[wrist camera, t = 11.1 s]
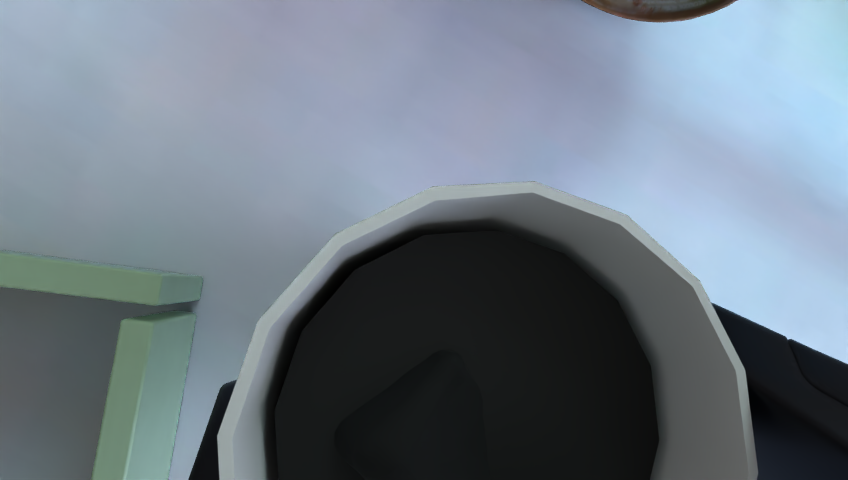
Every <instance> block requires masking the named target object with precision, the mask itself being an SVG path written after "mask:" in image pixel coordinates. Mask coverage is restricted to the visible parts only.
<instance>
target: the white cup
mask: <svg viewBox="0 0 848 480" xmlns="http://www.w3.org/2000/svg"><path fill="white" fill-rule="evenodd" d="M217 441H218V460H219V479H220V480H757V476H758V467H757V459H756V451H755V443H754V435H753V427H752V420H751V412H750V404H749V396H748V388H747V380H746V372H745V369H744V367H743V365H742V363H741V361H740V359H739V357H738V355H737V353H736V351H735V349H734V347H733V345H732V343H731V341H730V339H729V337H728V335H727V333H726V331H725V329H724V327H723V325H722V323H721V322H720V320H719V318H718V316H717V314H716V312H715V310H714V308H713V306H712V304H711V302H710V300H709V298H708V296H707V294H706V292H705V290H704V288H703V286H702V284H701V282H700V281H699V280H698V279H697V278H696V277H695V276H694V275H693V274H692V273H691V272H690V271H688V270H687V269H686V268H685V267H684V266H683V265H682V264H681V263H680V262H678V261H677V260H676V259H675V258H674V257H673V256H672V255H671V254H670V253H669V252H667V251H666V250H665V249H664V248H663V247H662V246H661V245H660V244H659V243H657V242H656V241H655V240H654V239H653V238H652V237H651V236H650V235H649V234H648V233H646V232H645V231H644V230H643V229H642V228H641V227H640V226H639V225H638V224H636V223H635V222H634V221H633V220H632V219H631V218H630V217H629V216H628V215H626V214H623V213H620V212H618V211H615V210H612V209H609V208H607V207H604V206H601V205H598V204H596V203H593V202H590V201H587V200H585V199H582V198H579V197H576V196H574V195H571V194H568V193H565V192H563V191H560V190H557V189H554V188H552V187H549V186H546V185H543V184H541V183H538V182H535V181H529V182H510V183H491V184H471V185H452V186H433V187H431V188H428V189H426V190H424V191H422V192H420V193H418V194H416V195H414V196H412V197H410V198H408V199H406V200H404V201H402V202H400V203H398V204H396V205H394V206H391V207H389V208H387V209H385V210H383V211H381V212H379V213H377V214H375V215H373V216H371V217H369V218H367V219H365V220H363V221H361V222H359V223H356V224H354V225H352V226H350V227H348V228H346V229H344V230H342V231H340V232H338V233H336V234H335V235H334V236H333V237H332V238H331V239H330V240H329V241H328V242H327V244H326V245H325V246H324V247H323V248H322V249H321V250H320V251H319V253H318V254H317V255H316V256H315V257H314V258H313V259H312V260H311V262H310V263H309V264H308V265H307V266H306V267H305V268H304V269H303V271H302V272H301V273H300V274H299V275H298V276H297V277H296V278H295V280H294V281H293V282H292V283H291V284H290V285H289V286H288V287H287V289H286V290H285V291H284V292H283V293H282V294H281V295H280V296H279V298H278V299H277V300H276V301H275V302H274V303H273V304H272V305H271V307H270V308H269V309H268V310H267V311H266V312H265V313H264V314H263V316H262V317H261V318H260V319H259V320H258V322H257V325H256V328H255V330H254V333H253V336H252V339H251V342H250V345H249V347H248V350H247V353H246V356H245V359H244V362H243V364H242V367H241V370H240V373H239V376H238V379H237V381H236V384H235V387H234V390H233V393H232V396H231V398H230V401H229V404H228V407H227V410H226V412H225V415H224V418H223V421H222V424H221V427H220V429H219V432H218V435H217Z"/></svg>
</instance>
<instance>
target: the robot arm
mask: <svg viewBox="0 0 848 480" xmlns="http://www.w3.org/2000/svg"><path fill="white" fill-rule="evenodd" d="M711 304H712V306H713V308H714V310H715V312H716V314H717V316H718V318H719V320H720V322H721V323H722V325H723V327H724V329H725V331H726V333H727V335H728V337H729V339H730V341H731V343H732V345H733V347H734V349H735V351H736V353H737V355H738V357H739V359H740V361H741V363H742V365H743V367H744V369H745V372H746V380H747V388H748V396H749V404H750V412H751V420H752V427H753V435H754V443H755V451H756V459H757V467H758V476H757V480H848V364H846V363H844V362H841V361H839V360H837V359H835V358H832V357H830V356H828V355H825V354H823V353H821V352H819V351H816V350H814V349H812V348H810V347H807V346H805V345H803V344H801V343H799V342H797V341H794V340H792V339H789V340H787V338H786V337H785V336H783V335H781V334H779V333H777V332H774V331H772V330H770V329H768V328H766V327H764V326H761V325H759V324H757V323H755V322H753V321H751V320H748V319H746V318H744V317H742V316H740V315H737V314H735V313H733V312H731V311H729V310H727V309H724V308H722V307H720V306H718V305H716V304H714V303H711ZM236 381H237V380H234V381H231V382H228V383H226V384H224V385H223V386H222V387H221V388H220V390H219V393H218V396H217V399H216V402H215V405H214V408H213V410H212V413H211V416H210V419H209V422H208V425H207V428H206V431H205V433H204V436H203V439H202V442H201V445H200V448H199V451H198V454H197V457H196V459H195V462H194V465H193V468H192V471H191V474H190V477H189V480H220V479H219V460H218V441H217V435H218V432H219V429H220V427H221V424H222V421H223V418H224V415H225V412H226V410H227V407H228V404H229V401H230V398H231V396H232V393H233V390H234V387H235V384H236Z"/></svg>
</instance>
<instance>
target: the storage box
mask: <svg viewBox="0 0 848 480" xmlns="http://www.w3.org/2000/svg"><path fill="white" fill-rule="evenodd" d="M202 284H203V277H202V276H196V275H188V274H181V273H173V272H165V271H158V270H150V269H143V268H135V267H128V266H120V265H113V264H105V263H98V262H90V261H83V260H75V259H68V258H60V257H53V256H45V255H37V254H30V253H22V252H15V251H7V250H0V287H6V288H14V289H22V290H30V291H38V292H47V293H55V294H63V295H71V296H79V297H87V298H95V299H103V300H112V301H120V302H128V303H136V304H144V305H152V306H158V305H166V304H174V303H182V302H190V301H198V300H199V299H200V295H201V289H202ZM196 317H197V315H196V314H195V313H192V312H184V311H175V310H174V311H168V312H162V313H156V314H150V315H145V316H139V317H133V318H127V319H123V320H122V321H121V323H120V328H119V333H118V339H117V344H116V349H115V354H114V360H113V365H112V370H111V376H110V381H109V386H108V391H107V397H106V402H105V407H104V413H103V418H102V423H101V428H100V434H99V439H98V444H97V450H96V455H95V460H94V465H93V471H92V476H91V480H168V477H169V471H170V465H171V459H172V454H173V448H174V442H175V437H176V431H177V425H178V420H179V414H180V408H181V402H182V397H183V391H184V385H185V380H186V374H187V368H188V362H189V357H190V351H191V345H192V340H193V334H194V328H195V323H196Z"/></svg>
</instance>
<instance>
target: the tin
mask: <svg viewBox="0 0 848 480" xmlns="http://www.w3.org/2000/svg"><path fill="white" fill-rule="evenodd" d="M582 1H584V2H585V3H587V4H589V5H591V6H593V7H596V8H598V9H600V10H602V11H605V12H607V13H610V14H613V15H616V16H619V17H622V18H626V19H631V20H637V21H646V22H674V21H684V20H689V19H693V18H697V17H700V16H703V15H706V14H710V13H713V12H715V11H718V10H720V9H722V8H725V7H727V6H729V5H730V4H732V3H734V2H735V1H737V0H582Z"/></svg>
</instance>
